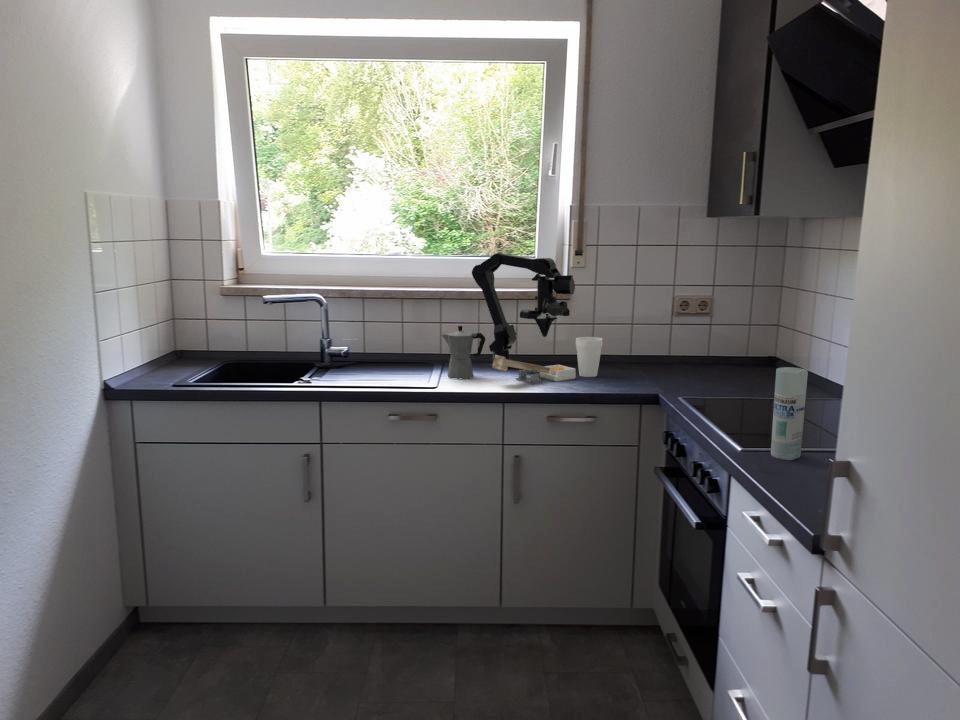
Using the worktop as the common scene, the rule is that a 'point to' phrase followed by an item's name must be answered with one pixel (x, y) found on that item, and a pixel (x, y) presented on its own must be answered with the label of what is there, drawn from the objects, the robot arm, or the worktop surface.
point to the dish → (559, 373)
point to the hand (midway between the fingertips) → (544, 336)
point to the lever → (517, 365)
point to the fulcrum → (532, 380)
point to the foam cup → (588, 355)
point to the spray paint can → (788, 412)
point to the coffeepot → (462, 352)
